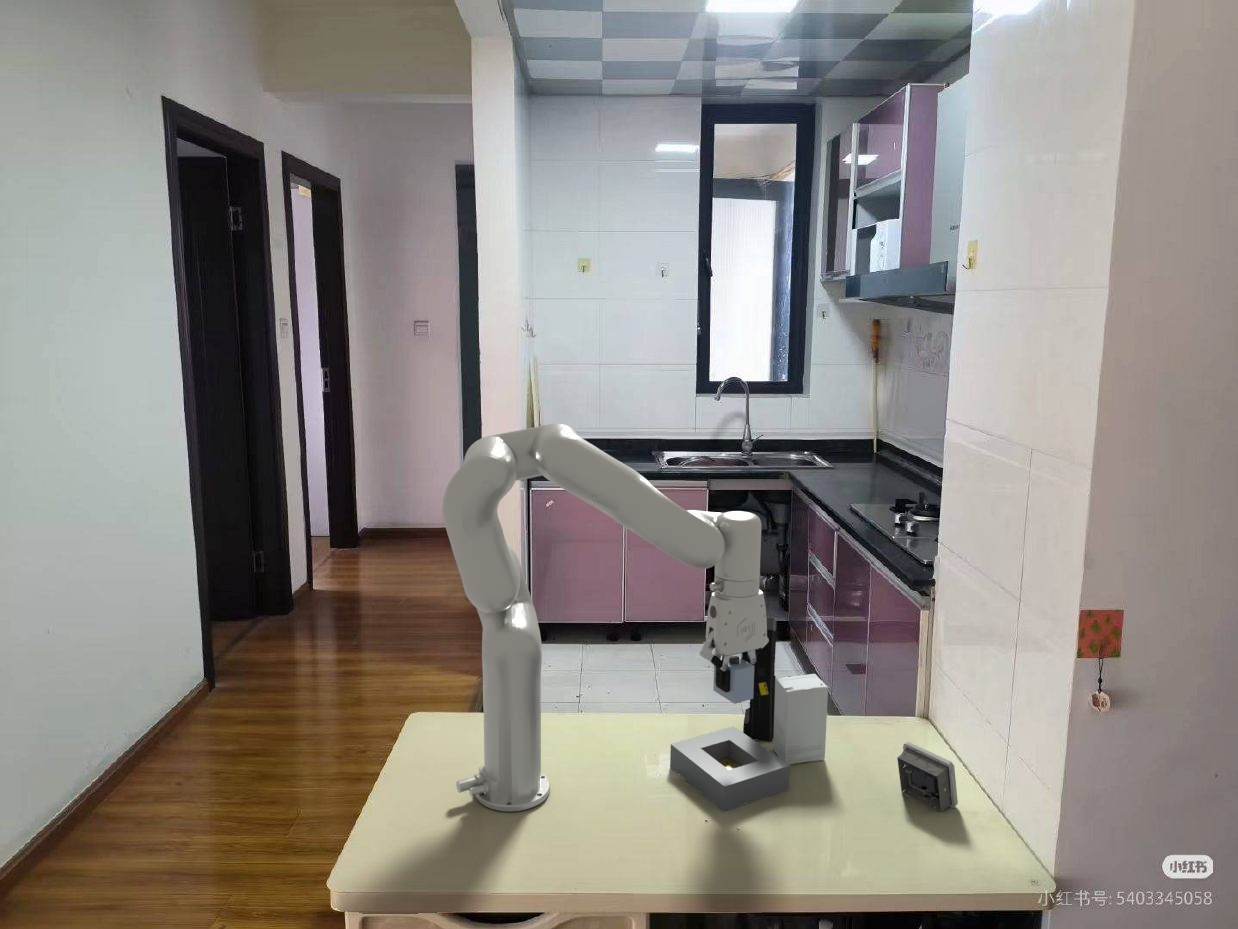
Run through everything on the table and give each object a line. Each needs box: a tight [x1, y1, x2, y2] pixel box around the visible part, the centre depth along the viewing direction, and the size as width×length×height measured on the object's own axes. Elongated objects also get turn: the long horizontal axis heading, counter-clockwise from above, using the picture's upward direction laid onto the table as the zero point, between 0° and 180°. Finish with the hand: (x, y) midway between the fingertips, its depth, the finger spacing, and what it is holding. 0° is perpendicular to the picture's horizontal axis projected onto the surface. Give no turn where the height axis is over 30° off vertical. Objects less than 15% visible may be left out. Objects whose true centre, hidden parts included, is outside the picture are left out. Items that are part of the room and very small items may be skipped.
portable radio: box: [742, 616, 778, 742], centre depth 172 cm, size 8×6×25 cm
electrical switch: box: [896, 741, 959, 814], centre depth 152 cm, size 9×5×9 cm, turn 38°
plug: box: [713, 654, 754, 705], centre depth 155 cm, size 4×6×7 cm, turn 31°
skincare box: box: [772, 673, 829, 765], centre depth 165 cm, size 8×6×15 cm
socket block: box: [669, 726, 791, 812], centre depth 159 cm, size 14×16×4 cm
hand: (733, 685), depth 156 cm, fingers closed on plug, 4 cm apart
